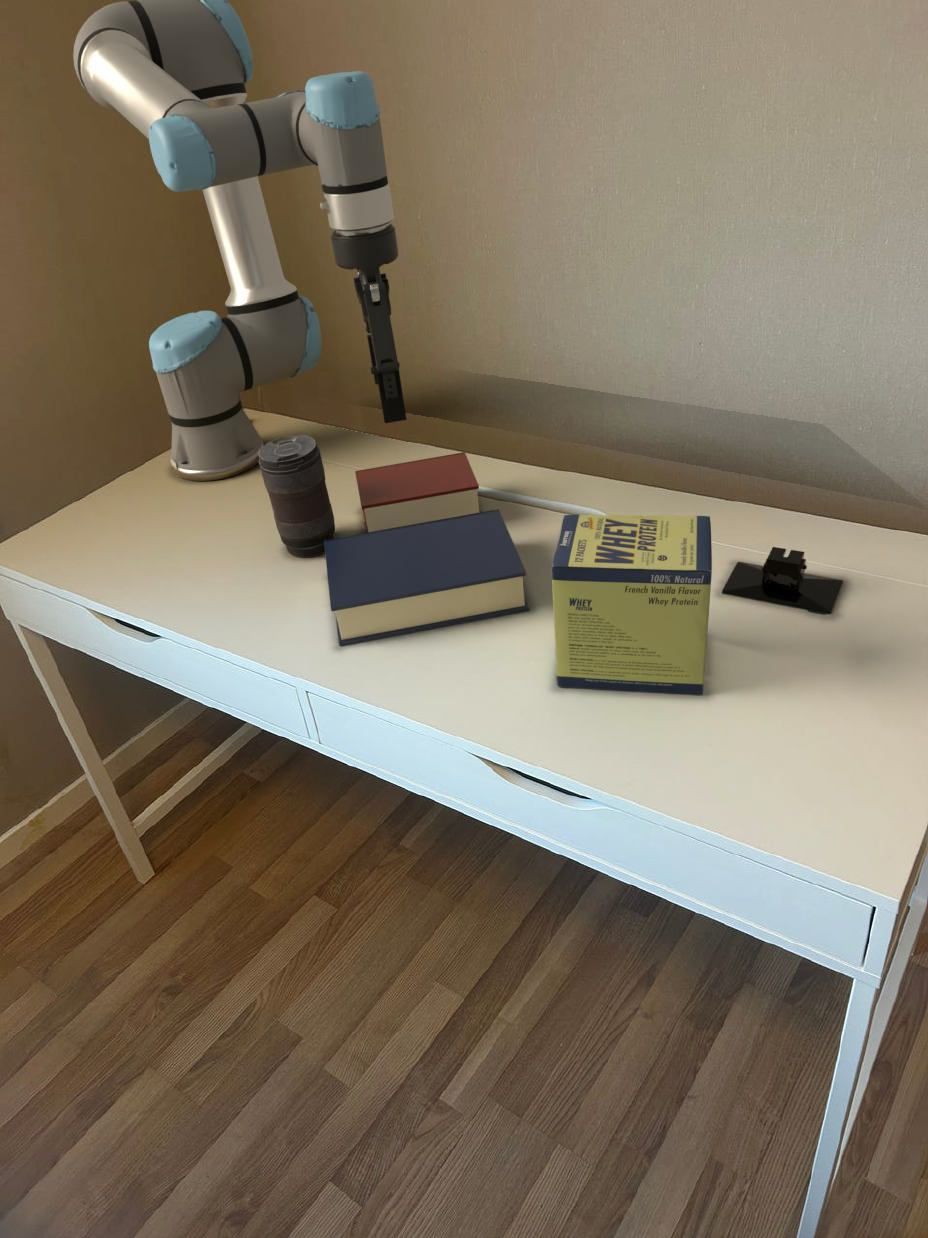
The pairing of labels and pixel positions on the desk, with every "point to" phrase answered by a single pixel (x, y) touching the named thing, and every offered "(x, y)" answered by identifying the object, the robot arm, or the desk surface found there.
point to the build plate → (784, 583)
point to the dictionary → (417, 492)
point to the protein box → (632, 602)
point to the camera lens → (298, 494)
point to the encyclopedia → (423, 576)
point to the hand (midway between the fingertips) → (390, 400)
